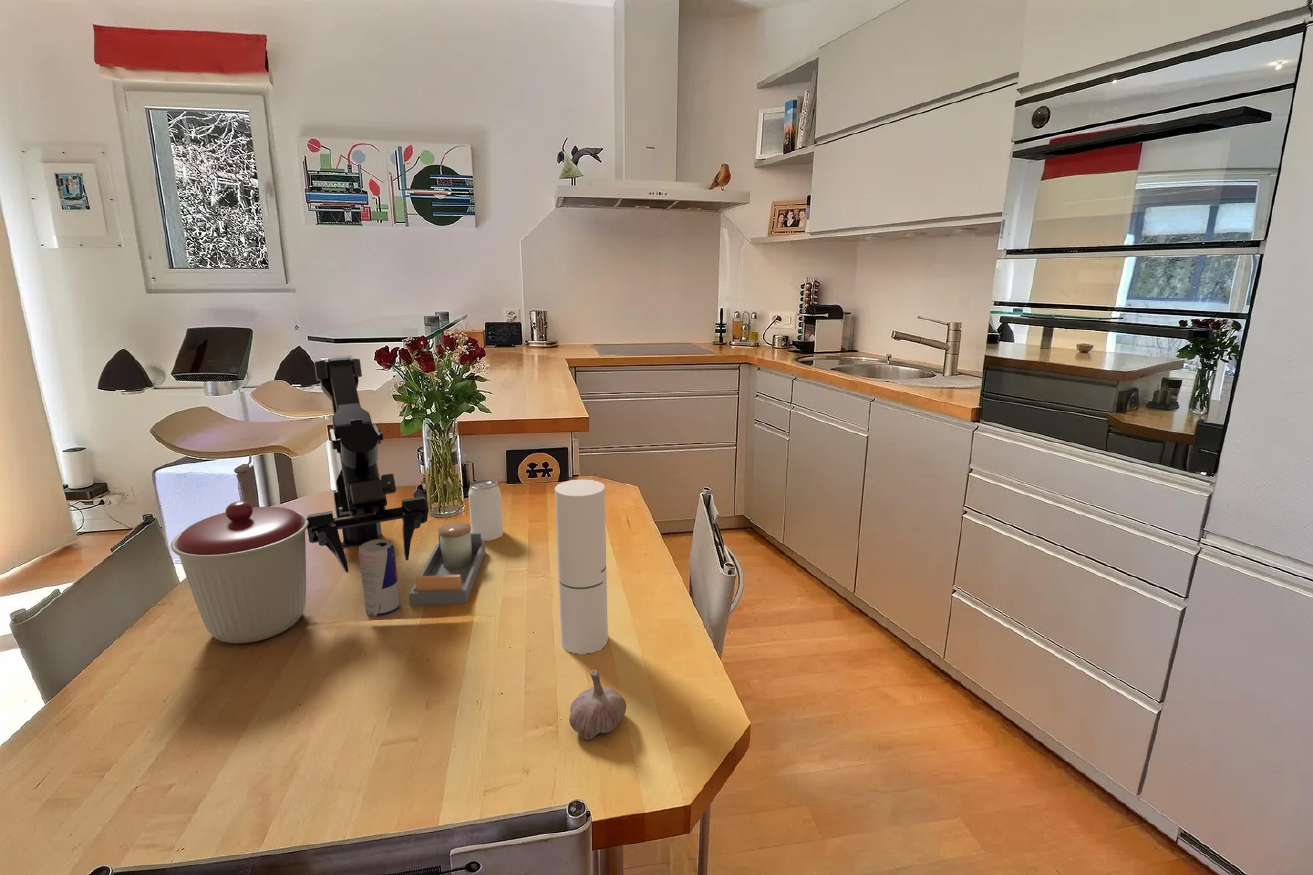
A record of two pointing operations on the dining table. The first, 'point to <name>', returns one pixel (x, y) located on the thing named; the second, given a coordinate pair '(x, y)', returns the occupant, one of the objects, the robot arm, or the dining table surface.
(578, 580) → the cylindrical container
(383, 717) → the dining table surface
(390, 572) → the energy drink
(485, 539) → the can
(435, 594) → the grey rectangular tray
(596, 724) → the garlic bulb
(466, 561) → the sage jar
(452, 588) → the bar
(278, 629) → the canister
